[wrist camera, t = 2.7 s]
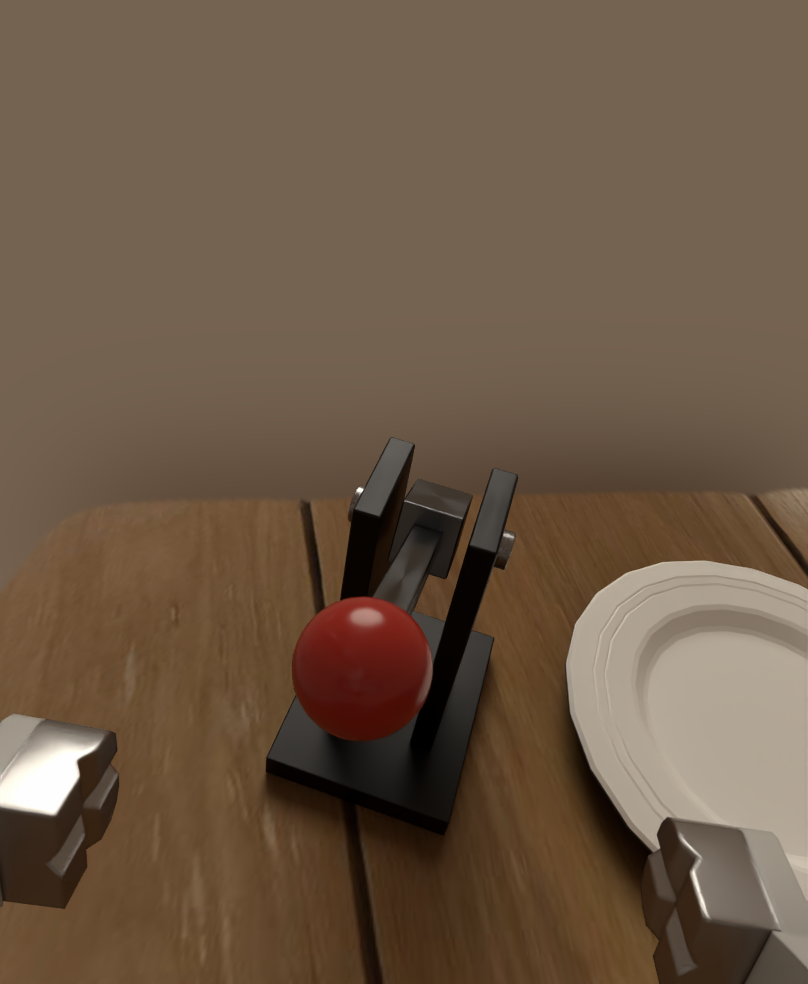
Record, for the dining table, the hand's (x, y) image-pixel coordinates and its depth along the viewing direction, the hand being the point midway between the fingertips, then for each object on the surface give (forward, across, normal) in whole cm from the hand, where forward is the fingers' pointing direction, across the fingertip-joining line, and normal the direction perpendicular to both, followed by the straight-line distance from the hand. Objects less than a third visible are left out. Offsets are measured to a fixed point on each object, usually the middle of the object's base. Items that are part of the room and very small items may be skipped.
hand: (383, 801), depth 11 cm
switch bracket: (+20, 0, +16) cm, 25 cm away
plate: (+22, -18, +16) cm, 33 cm away
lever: (+11, 0, +5) cm, 12 cm away
